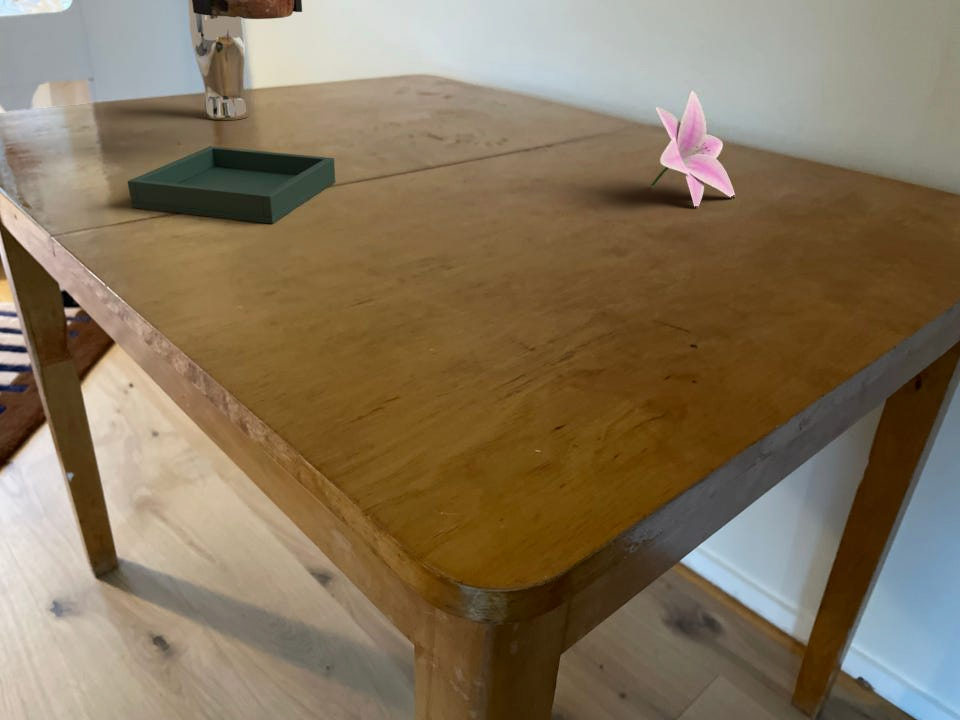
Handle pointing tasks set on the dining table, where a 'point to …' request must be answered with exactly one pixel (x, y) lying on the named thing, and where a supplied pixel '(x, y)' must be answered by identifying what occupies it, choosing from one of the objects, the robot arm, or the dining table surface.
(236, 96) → the beer glass
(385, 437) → the dining table surface
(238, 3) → the bread roll
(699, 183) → the lily
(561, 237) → the dining table surface
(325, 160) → the dark green square tray
